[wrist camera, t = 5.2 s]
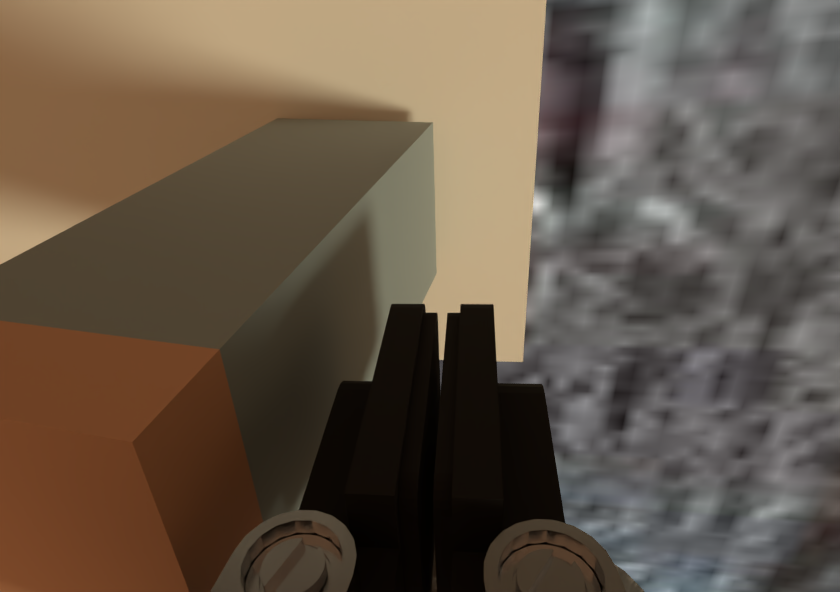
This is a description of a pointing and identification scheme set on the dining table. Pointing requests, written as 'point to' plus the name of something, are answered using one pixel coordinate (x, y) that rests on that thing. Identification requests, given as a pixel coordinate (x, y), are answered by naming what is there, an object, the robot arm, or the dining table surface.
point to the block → (200, 350)
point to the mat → (278, 112)
